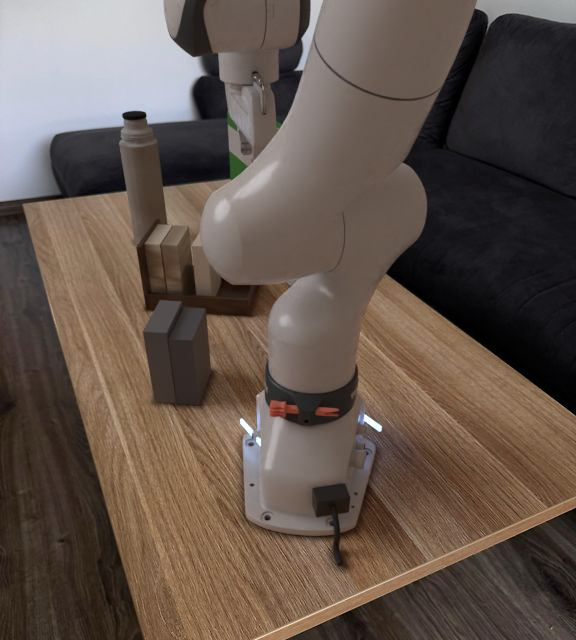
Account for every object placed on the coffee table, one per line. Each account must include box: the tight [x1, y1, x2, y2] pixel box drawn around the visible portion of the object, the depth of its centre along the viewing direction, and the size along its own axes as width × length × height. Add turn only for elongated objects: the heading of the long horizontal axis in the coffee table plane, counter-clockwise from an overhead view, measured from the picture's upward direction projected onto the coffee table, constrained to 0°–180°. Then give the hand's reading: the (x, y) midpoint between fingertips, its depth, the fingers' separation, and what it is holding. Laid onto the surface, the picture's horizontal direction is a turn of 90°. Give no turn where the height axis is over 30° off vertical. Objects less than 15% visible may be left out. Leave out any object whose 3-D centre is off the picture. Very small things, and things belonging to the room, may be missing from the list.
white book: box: [191, 231, 222, 296], centre depth 114 cm, size 3×9×12 cm, turn 174°
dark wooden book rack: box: [135, 219, 259, 317], centre depth 114 cm, size 20×13×13 cm, turn 84°
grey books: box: [142, 300, 212, 406], centre depth 91 cm, size 7×9×13 cm
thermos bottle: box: [118, 110, 169, 246], centre depth 130 cm, size 8×8×28 cm
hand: (252, 162), depth 96 cm, fingers open, 8 cm apart
